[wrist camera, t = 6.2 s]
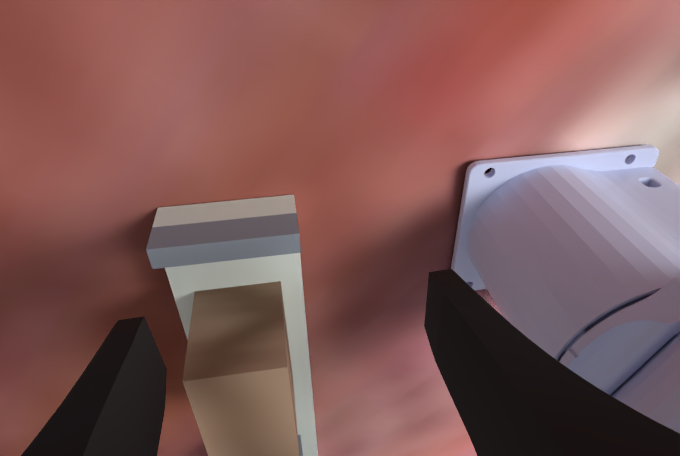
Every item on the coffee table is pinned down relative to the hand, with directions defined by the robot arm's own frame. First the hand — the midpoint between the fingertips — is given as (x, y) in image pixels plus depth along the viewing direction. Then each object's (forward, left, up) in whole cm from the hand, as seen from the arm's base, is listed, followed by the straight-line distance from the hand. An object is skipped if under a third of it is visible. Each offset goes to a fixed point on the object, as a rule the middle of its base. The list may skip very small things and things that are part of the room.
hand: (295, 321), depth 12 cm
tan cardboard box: (+2, +10, -8) cm, 13 cm away
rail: (+2, +14, -10) cm, 18 cm away
